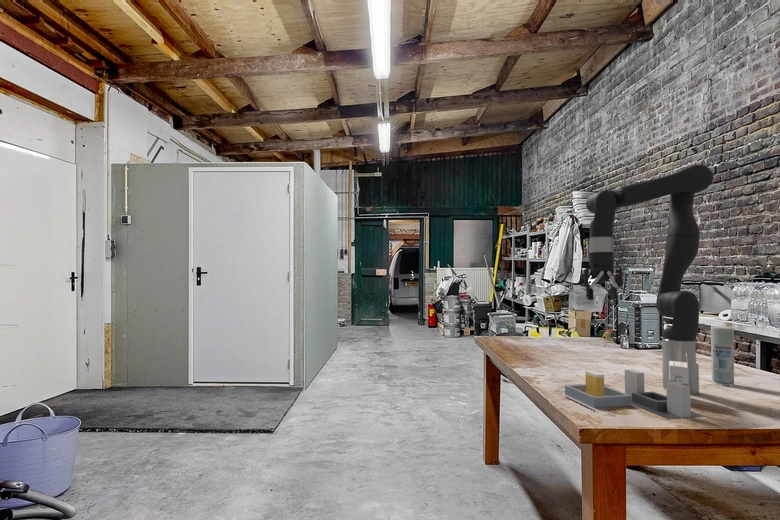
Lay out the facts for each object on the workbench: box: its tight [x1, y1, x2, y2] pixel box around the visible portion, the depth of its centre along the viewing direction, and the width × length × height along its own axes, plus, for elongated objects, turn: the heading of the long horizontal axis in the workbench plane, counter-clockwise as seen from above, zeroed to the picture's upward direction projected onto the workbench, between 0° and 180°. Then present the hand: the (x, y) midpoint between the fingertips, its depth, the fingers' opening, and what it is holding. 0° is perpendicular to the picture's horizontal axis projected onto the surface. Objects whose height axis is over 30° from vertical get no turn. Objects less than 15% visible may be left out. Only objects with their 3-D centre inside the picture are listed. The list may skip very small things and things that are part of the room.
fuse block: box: [624, 368, 708, 420], centre depth 126 cm, size 12×22×9 cm, turn 11°
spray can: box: [710, 325, 735, 386], centre depth 155 cm, size 6×6×20 cm
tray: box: [564, 383, 632, 412], centre depth 132 cm, size 12×14×4 cm
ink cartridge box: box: [669, 353, 689, 386], centre depth 133 cm, size 9×5×15 cm, turn 148°
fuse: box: [585, 370, 605, 397], centre depth 133 cm, size 3×5×8 cm, turn 11°
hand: (601, 299), depth 146 cm, fingers open, 8 cm apart
